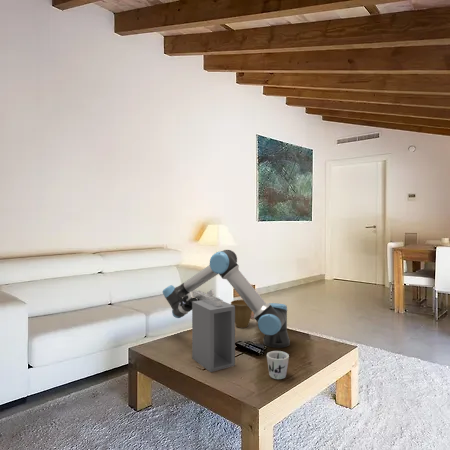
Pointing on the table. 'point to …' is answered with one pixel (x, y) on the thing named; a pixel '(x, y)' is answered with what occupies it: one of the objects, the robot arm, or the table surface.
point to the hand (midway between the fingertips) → (202, 292)
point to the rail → (208, 298)
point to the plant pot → (241, 313)
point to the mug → (277, 364)
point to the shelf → (213, 335)
